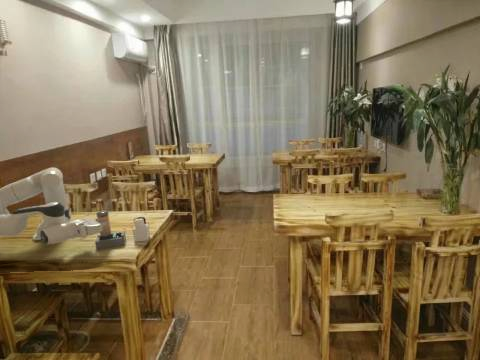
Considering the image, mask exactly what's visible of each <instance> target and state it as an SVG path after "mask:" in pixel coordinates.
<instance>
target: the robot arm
mask: <svg viewBox="0 0 480 360" xmlns="http://www.w3.org/2000/svg"><path fill="white" fill-rule="evenodd" d="M40 193H43V196H44V201H45V203H44V204H38V205H29V206H25V207H24V206H23V207H19V208H17V209H15V210H13V211H12V213H11V212H10V211H9V209H8V208H7V207H8V206H11V205H14V204H17V203H21V202H23V201H25V200H28V199H31V198H32V197H35V196H37V195H40ZM67 198H68V197H67V195H66V190H65V186H64V175H63V172H62V171H61V169H59V168H57V167H48V168H46V169H43V170H41V171H39V172H36V173H34V174H32V175H30V176H29V175H28V176H27V177H24V178H22V179H19V180H17V181H15V182H12V183H9V184H7V185H4V186H3V187H0V236H2V237H4V236H5V237H14V236H15V237H17V236H18V235H20V234H22V233H23V232H24V231H25V229H26V228H27V226H28V220H29V217H30V216H35V215H41V217H42V218H43V220H42V221H41V222H40V223H39V224H38V226H37V227H36V232H35V234H34V235H33V236H32V240H33V241H42V243H43V244H45V245H53V244H58V243H63V242H66V241H67V240H72V239H76V238H79V239H80V238H81V239H86V238H87V237H88V236H93V235H96V234H100V232H101V231H103V226H105V225H108V221H104V222H102V223H99V222H98V218H93V217H91V216H85V217H82V218H78V219H73V220H72V219H71V216H72V215H71V209H70V208H69V204H68V199H67ZM41 239H42V240H41Z"/></svg>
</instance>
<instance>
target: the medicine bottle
mask: <svg viewBox="0 0 480 360" xmlns="http://www.w3.org/2000/svg"><path fill="white" fill-rule="evenodd" d="M133 223H134V227H133V228H132V234H133V241H134V243H138V242H148V241H149V239H150V233H151V232H150V227H149V225H150V224H148V223H147V222H146V217H144V216H138V217H135V218H134V219H133Z"/></svg>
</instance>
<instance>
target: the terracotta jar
mask: <svg viewBox="0 0 480 360" xmlns="http://www.w3.org/2000/svg"><path fill="white" fill-rule="evenodd" d="M95 215H96V217H97V218H96V219H98V222H99V223H102V222H104V221H108V225H105V226H103V231H101V232H99V235H101V236H107V235H110V234H111V233H112V228H111V224H110V223H111V222H110V217H109V216H110V215H109V211H108V210H101V211H96V214H95Z"/></svg>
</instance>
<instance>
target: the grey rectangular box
mask: <svg viewBox="0 0 480 360" xmlns="http://www.w3.org/2000/svg"><path fill="white" fill-rule="evenodd" d="M113 235H114V232H111V234H110V235H107V236H101V235H100V234H98V235H97V238H96V240H95V241H94V242H95V243H94V244H95V249H96V250H100V249H106V248H113V247H114V248H115V247H120V246H125V245H126V239H127V236H126V231H125V230H122V231H117V236H119V238H113Z"/></svg>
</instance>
